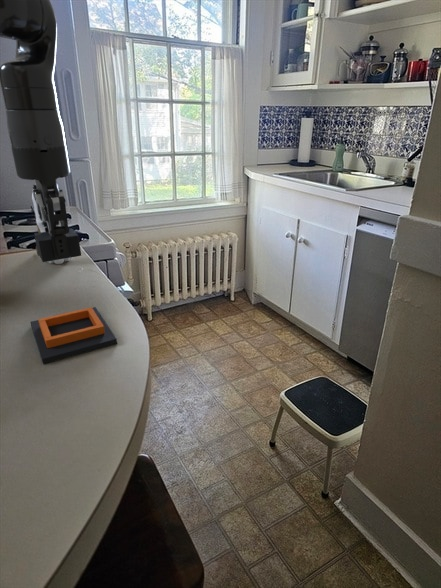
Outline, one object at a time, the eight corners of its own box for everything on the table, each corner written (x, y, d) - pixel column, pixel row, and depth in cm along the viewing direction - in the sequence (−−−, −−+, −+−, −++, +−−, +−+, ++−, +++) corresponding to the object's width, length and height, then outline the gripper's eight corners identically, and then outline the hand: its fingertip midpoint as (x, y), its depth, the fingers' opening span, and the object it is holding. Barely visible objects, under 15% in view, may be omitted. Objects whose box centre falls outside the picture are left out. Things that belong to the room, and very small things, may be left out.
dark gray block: (42, 262, 62) (38, 241, 60) (38, 253, 66) (33, 233, 64) (81, 255, 65) (78, 235, 63) (74, 247, 69) (71, 228, 67)
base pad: (43, 364, 62) (40, 351, 61) (31, 326, 73) (28, 314, 72) (117, 343, 68) (115, 331, 67) (96, 311, 78) (94, 300, 77)
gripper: (6, 141, 62) (28, 245, 69) (16, 148, 51) (41, 270, 58) (56, 140, 65) (72, 238, 72) (75, 145, 54) (92, 261, 61)
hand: (58, 252), depth 65 cm, fingers closed on dark gray block, 5 cm apart
